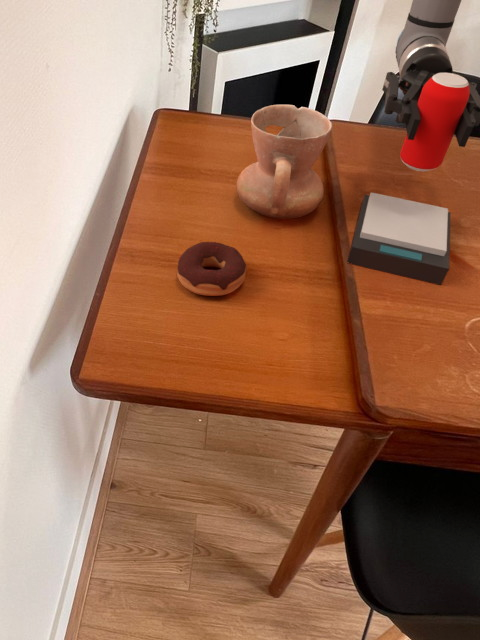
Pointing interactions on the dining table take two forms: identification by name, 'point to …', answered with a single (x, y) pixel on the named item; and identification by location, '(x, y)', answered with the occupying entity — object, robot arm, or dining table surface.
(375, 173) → the dining table surface
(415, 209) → the kitchen scale
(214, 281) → the donut
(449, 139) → the beverage can
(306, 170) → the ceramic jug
